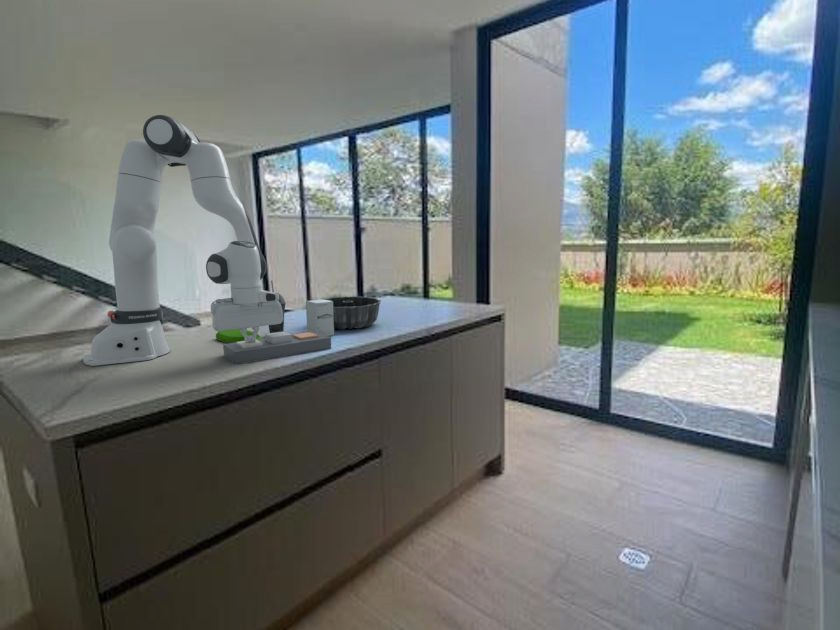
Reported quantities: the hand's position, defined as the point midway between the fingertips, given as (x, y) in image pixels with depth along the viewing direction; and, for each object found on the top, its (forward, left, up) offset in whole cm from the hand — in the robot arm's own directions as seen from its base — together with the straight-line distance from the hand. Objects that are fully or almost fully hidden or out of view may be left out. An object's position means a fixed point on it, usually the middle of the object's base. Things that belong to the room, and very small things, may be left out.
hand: (250, 341), depth 143 cm
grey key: (+9, 0, -2) cm, 9 cm away
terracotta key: (+18, 0, -3) cm, 18 cm away
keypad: (+9, 0, -4) cm, 10 cm away
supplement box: (+30, +14, -5) cm, 33 cm away
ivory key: (0, 0, -3) cm, 3 cm away
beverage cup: (+17, +23, -5) cm, 29 cm away
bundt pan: (+47, +24, -5) cm, 52 cm away
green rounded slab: (+5, +20, -5) cm, 21 cm away
